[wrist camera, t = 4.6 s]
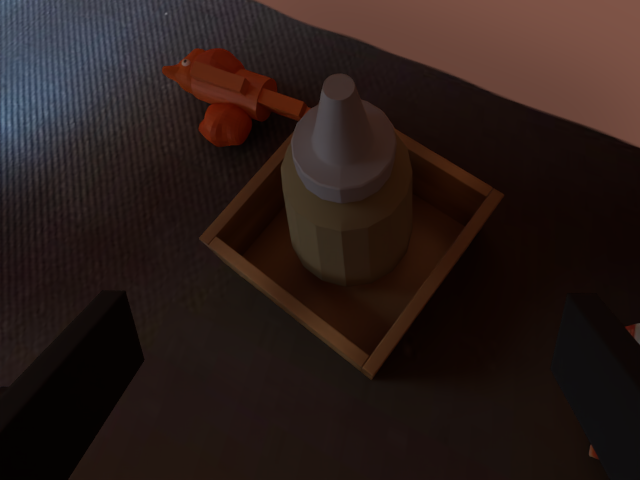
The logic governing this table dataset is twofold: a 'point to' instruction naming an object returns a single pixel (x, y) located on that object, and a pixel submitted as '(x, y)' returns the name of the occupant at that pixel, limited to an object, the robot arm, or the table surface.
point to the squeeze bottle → (347, 188)
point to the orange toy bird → (230, 95)
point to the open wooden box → (362, 300)
